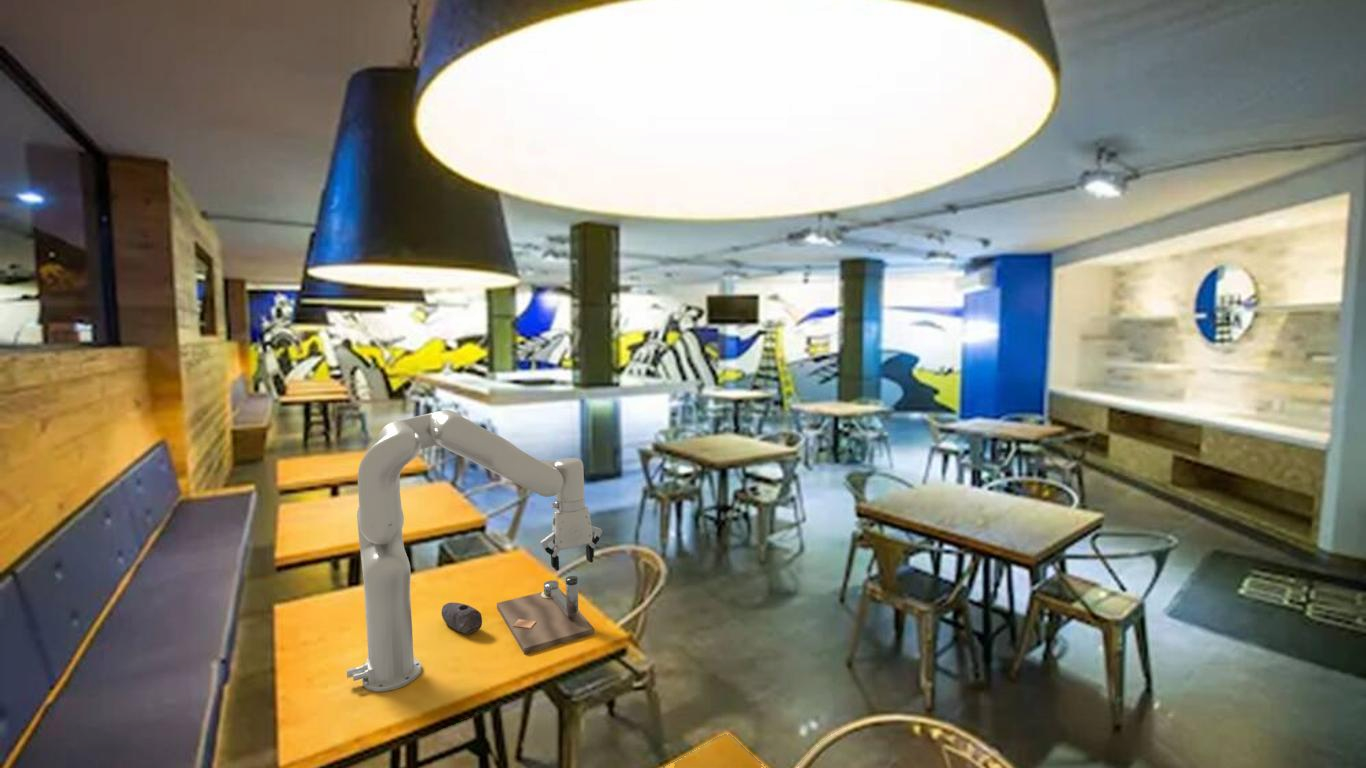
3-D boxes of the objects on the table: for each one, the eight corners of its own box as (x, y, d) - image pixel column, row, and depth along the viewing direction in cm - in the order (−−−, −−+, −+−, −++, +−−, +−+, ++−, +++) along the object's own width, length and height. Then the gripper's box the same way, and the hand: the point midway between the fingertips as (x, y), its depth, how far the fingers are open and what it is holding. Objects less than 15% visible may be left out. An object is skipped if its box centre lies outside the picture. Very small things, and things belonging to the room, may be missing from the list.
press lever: (566, 622, 161) (566, 582, 160) (541, 591, 180) (540, 554, 178) (582, 618, 163) (581, 578, 162) (555, 587, 182) (555, 552, 181)
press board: (524, 654, 150) (524, 647, 150) (496, 608, 174) (496, 602, 174) (594, 633, 160) (594, 627, 160) (559, 592, 184) (559, 587, 183)
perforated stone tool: (435, 623, 165) (434, 600, 164) (452, 616, 169) (451, 592, 169) (467, 641, 156) (466, 615, 156) (484, 632, 161) (483, 608, 160)
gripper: (543, 514, 153) (546, 577, 155) (605, 502, 161) (607, 562, 163) (535, 506, 159) (537, 567, 161) (595, 495, 168) (597, 553, 170)
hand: (573, 564), depth 162 cm, fingers open, 9 cm apart
